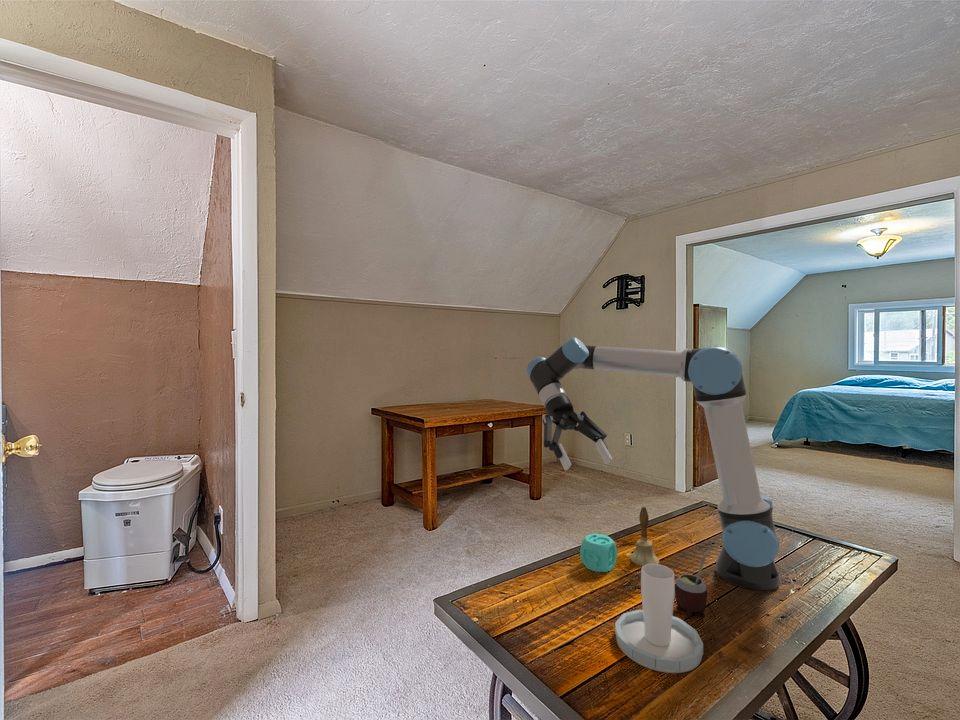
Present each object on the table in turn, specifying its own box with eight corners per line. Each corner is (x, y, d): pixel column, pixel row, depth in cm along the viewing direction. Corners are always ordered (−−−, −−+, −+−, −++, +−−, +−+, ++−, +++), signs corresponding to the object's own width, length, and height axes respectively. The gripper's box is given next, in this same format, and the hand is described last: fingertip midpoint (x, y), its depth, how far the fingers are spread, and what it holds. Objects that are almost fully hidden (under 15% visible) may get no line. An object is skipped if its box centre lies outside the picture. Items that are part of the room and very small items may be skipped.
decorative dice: (592, 557, 137) (592, 531, 137) (617, 565, 132) (617, 538, 132) (579, 567, 131) (579, 539, 131) (605, 575, 126) (605, 547, 126)
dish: (687, 624, 104) (687, 613, 104) (713, 677, 87) (714, 665, 87) (611, 617, 106) (611, 607, 106) (622, 667, 90) (622, 655, 90)
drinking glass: (677, 652, 93) (678, 580, 92) (643, 648, 94) (643, 577, 94) (671, 631, 99) (671, 564, 99) (638, 628, 101) (638, 562, 100)
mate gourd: (672, 614, 108) (672, 552, 107) (678, 599, 114) (679, 540, 114) (706, 625, 103) (707, 560, 103) (711, 608, 110) (712, 548, 109)
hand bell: (637, 567, 131) (638, 513, 130) (625, 554, 139) (625, 503, 138) (664, 565, 132) (665, 511, 131) (650, 553, 140) (650, 502, 140)
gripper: (584, 407, 141) (618, 466, 128) (514, 412, 130) (544, 477, 117) (595, 392, 136) (632, 451, 123) (524, 396, 125) (556, 462, 112)
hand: (589, 464), depth 120 cm, fingers open, 13 cm apart
